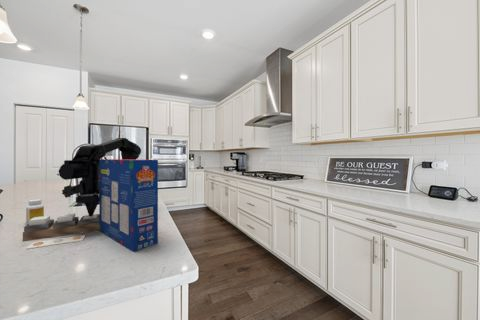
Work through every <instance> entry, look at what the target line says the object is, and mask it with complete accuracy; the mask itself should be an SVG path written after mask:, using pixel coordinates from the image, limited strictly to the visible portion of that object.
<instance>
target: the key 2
mask: <svg viewBox="0 0 480 320" xmlns="http://www.w3.org/2000/svg"><path fill="white" fill-rule="evenodd" d="M83 216H84V217H83ZM83 216H82V217H83V220H84V219H93V218H98V213H94V214H93V216H89V214H85V215H83Z"/></svg>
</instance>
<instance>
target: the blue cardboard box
mask: <svg viewBox="0 0 480 320" xmlns="http://www.w3.org/2000/svg"><path fill="white" fill-rule="evenodd" d="M98 197H99V203H98V205H99V207H98V210H99V211H98V212H99V231H98V232H100V233H101V234H103V235H105V236H107V237H108V238H109V239H111V240H113V241H114V242H116V243H118V244H119V245H121V246H122V247H124V248H125V249H127V250H128V251H130V252H132V253H135V252H137V251H141V250H144V249H146V248H149V247H151V246H155V245H156V244H157V245H158V242H159V159H136V160H132V159H122V158H120V159H119V158H118V159H116V158H114V159H113V158H111V159H110V158H108V159H106V158H101V159H99V194H98Z"/></svg>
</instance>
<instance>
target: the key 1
mask: <svg viewBox="0 0 480 320" xmlns="http://www.w3.org/2000/svg"><path fill="white" fill-rule="evenodd" d="M50 220H51V215H44V216H42V217H34V218H32V219H31V220H29V226H31V225H40V224H47V223H48V222H50Z"/></svg>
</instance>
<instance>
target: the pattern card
mask: <svg viewBox="0 0 480 320" xmlns="http://www.w3.org/2000/svg"><path fill="white" fill-rule="evenodd" d="M85 238H86V234H84V235H76V236H69V237H63V238H62V237H61V238H56V239H48V240H41V241H40V240H39V241H34V242H32V243H30V244H29V245H28V246H27V247H26V248H25V249H26V250H31V249H37V248H44V247H50V246H51V247H52V246H58V245H64V244H70V243H76V242H82V241H84V239H85Z"/></svg>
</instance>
